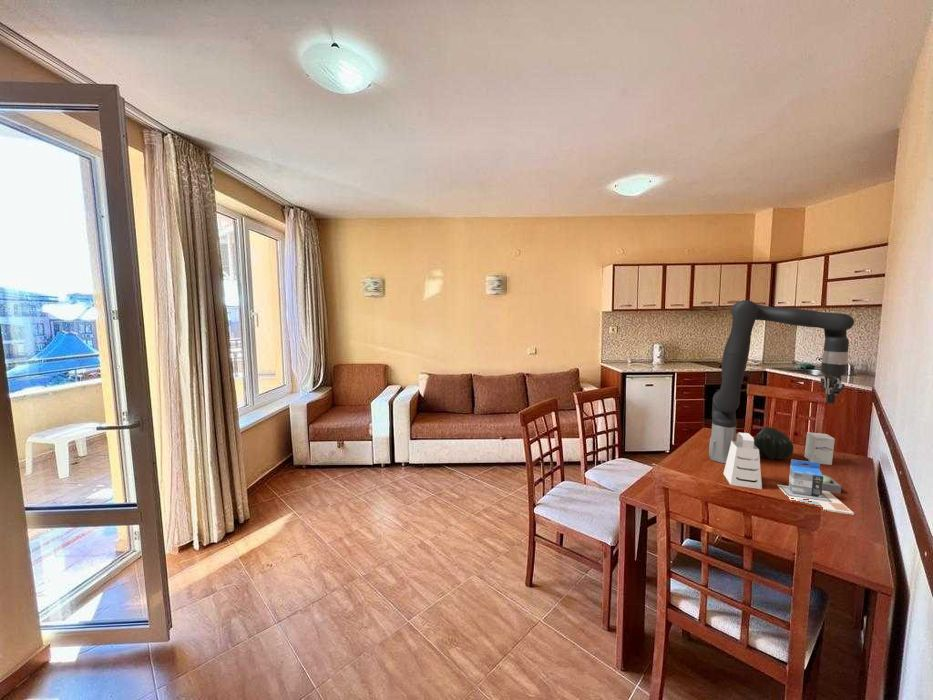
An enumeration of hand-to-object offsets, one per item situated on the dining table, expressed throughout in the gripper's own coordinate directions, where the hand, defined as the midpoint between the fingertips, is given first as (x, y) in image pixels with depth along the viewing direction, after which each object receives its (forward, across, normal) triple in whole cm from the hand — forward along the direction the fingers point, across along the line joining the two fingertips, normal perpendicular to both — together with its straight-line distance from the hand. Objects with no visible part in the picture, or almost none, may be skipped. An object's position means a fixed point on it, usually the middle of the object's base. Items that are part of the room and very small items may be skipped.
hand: (829, 403), depth 151 cm
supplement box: (+32, -18, +6) cm, 38 cm away
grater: (+32, +17, -33) cm, 49 cm away
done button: (+32, +12, -5) cm, 34 cm away
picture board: (+32, +25, -13) cm, 43 cm away
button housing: (+32, +12, -5) cm, 35 cm away
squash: (+32, -17, -12) cm, 38 cm away
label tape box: (+32, +22, -14) cm, 41 cm away
